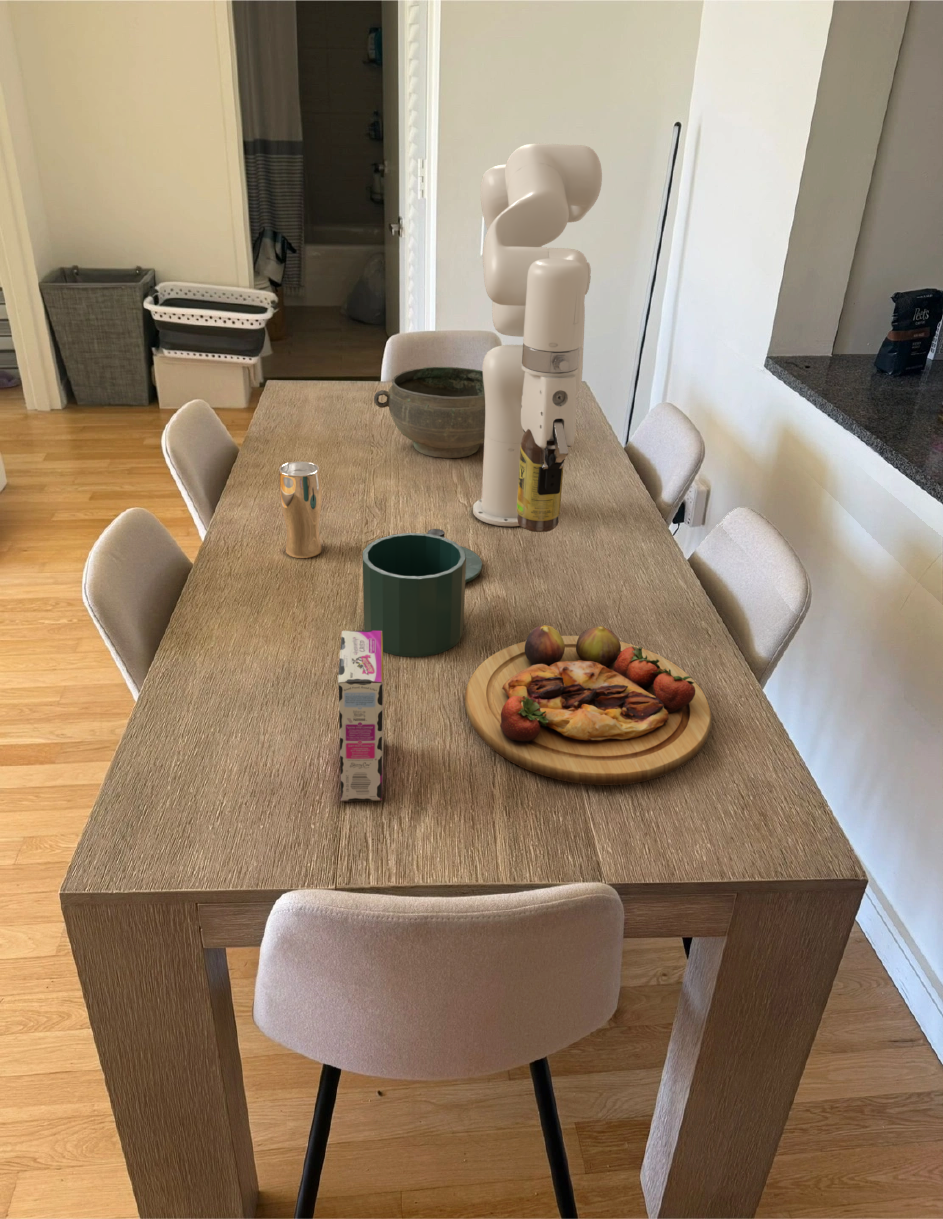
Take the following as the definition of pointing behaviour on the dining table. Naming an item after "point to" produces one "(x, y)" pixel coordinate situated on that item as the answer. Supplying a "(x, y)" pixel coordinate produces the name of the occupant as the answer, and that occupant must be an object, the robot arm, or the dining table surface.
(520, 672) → the wooden plate
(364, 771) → the candy bar box
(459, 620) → the tin
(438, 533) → the tin lid
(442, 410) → the bowl
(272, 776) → the dining table surface
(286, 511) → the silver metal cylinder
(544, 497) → the sauce bottle
